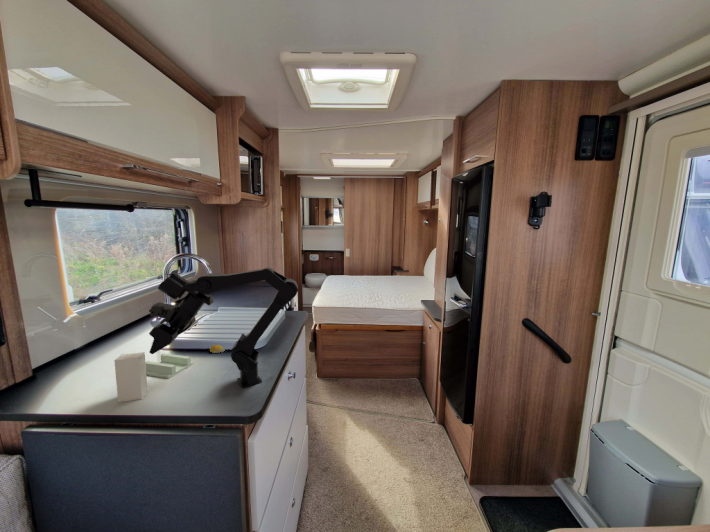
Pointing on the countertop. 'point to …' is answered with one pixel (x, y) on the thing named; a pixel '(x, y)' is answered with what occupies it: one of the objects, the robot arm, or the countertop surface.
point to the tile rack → (168, 366)
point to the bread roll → (217, 349)
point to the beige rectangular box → (131, 376)
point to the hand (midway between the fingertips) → (158, 347)
